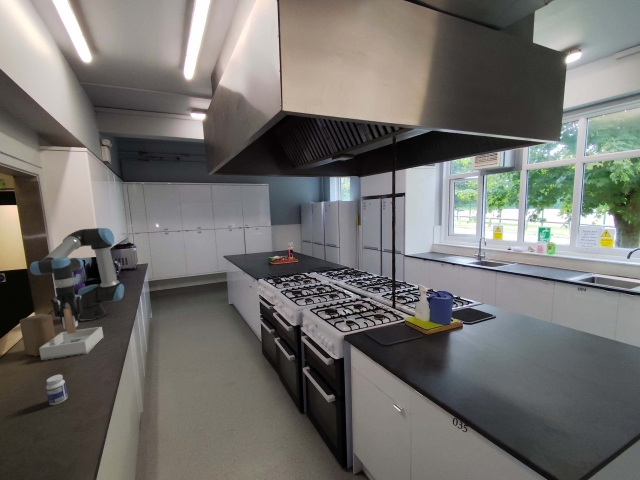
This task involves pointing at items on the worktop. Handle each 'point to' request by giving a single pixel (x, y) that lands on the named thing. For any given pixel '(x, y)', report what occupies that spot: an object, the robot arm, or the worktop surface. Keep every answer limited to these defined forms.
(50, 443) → the worktop surface
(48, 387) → the pill bottle
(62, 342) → the tub
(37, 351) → the wooden block
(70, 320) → the peg
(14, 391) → the worktop surface
